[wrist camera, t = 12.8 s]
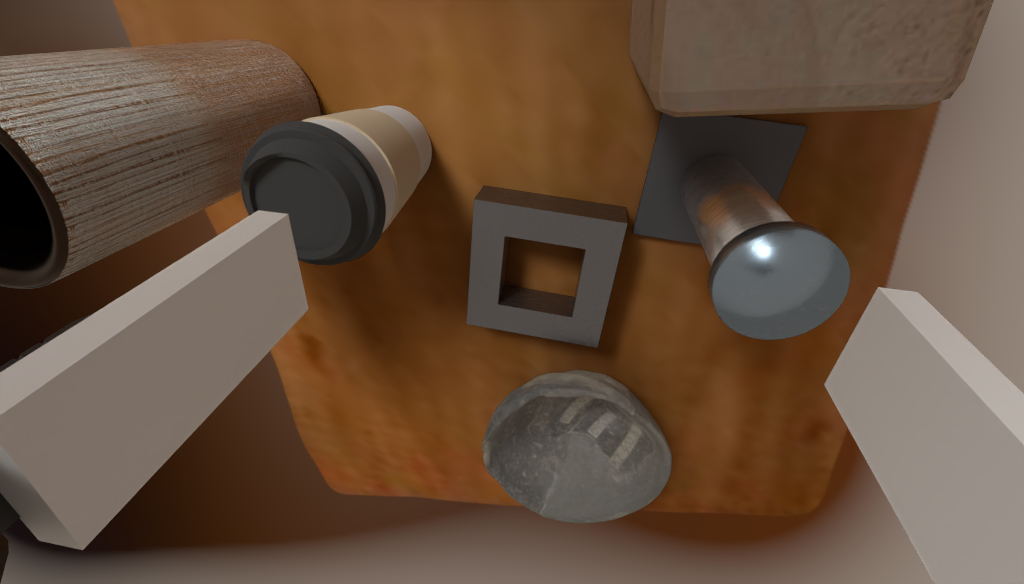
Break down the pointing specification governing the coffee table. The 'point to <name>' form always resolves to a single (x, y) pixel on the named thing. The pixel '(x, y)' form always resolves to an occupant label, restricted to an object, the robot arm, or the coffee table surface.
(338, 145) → the coffee cup
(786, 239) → the silver domed cylinder
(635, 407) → the bowl
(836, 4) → the wooden block
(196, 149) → the planter
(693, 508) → the coffee table surface
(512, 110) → the coffee table surface
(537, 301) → the frame
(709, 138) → the mat
